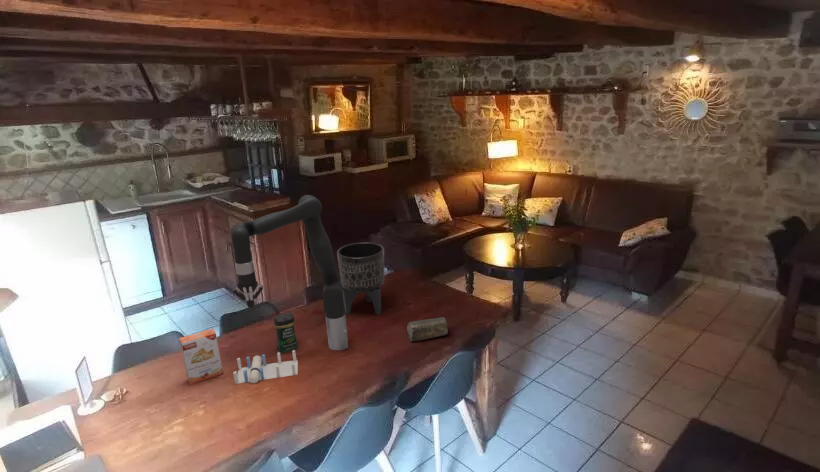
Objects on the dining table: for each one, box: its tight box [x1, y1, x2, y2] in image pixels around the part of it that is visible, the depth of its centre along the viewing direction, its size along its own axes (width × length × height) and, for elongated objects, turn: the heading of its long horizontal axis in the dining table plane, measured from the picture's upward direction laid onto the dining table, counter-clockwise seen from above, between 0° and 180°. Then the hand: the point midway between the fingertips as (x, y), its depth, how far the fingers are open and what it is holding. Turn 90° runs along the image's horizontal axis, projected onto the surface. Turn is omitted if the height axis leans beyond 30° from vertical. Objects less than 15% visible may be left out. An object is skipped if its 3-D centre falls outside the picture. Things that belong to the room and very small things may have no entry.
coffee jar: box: [273, 311, 299, 354], centre depth 229 cm, size 10×8×19 cm
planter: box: [336, 241, 385, 316], centre depth 264 cm, size 25×25×36 cm
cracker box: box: [179, 328, 224, 386], centre depth 209 cm, size 14×6×21 cm, turn 124°
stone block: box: [406, 316, 449, 342], centre depth 237 cm, size 20×9×10 cm
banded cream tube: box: [248, 354, 263, 384], centre depth 212 cm, size 16×4×4 cm, turn 11°
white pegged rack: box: [233, 349, 299, 385], centre depth 212 cm, size 26×13×6 cm, turn 101°
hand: (251, 307), depth 211 cm, fingers closed
